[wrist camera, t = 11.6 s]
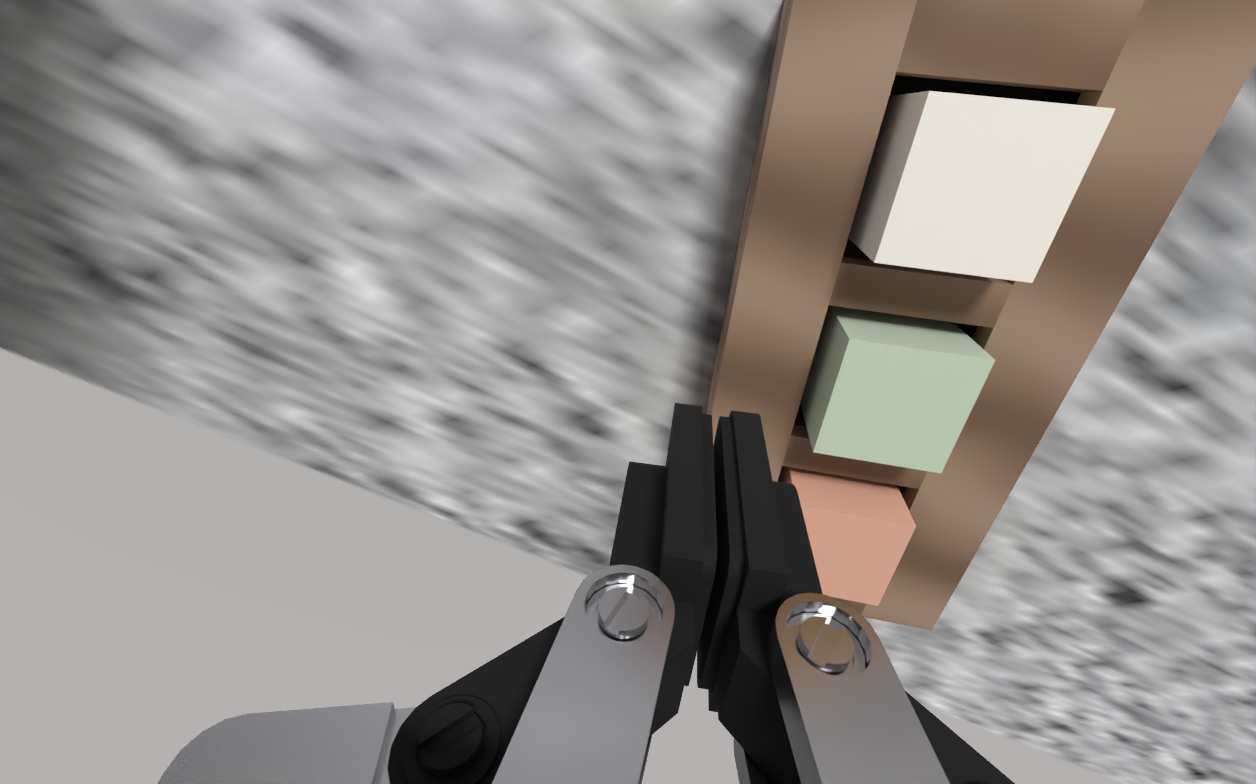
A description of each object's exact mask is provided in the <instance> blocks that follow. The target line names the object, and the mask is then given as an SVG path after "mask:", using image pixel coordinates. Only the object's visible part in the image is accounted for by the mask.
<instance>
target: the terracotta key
mask: <svg viewBox="0 0 1256 784" xmlns="http://www.w3.org/2000/svg"><path fill="white" fill-rule="evenodd" d="M777 482H783V483H790V484H793V485H795V487H796V489H797V492H798V496H799V500H800V504H801V508H802V512H803V516H804V520H805V524H806V528H807V532H808V536H809V540H810V545H811V549H812V553H813V557H814V561H815V565H816V569H817V573H818V577H819V581H820V585H821V589H822V593H823V595H828V596H830V597H834V598H839V599H845V600H850V601H855V602H860V603H865V604H871V605H876V606H878V605H879V603H880V601H881V599H882V597H883V595H884V593H885V591H886V589H887V586H888V584H889V582H890V580H891V578H892V576H893V574H894V572H895V570H896V568H897V566H898V563H899V561H900V559H901V557H902V555H903V553H904V551H905V549H906V547H907V545H908V543H909V540H910V538H911V536H912V534H913V532H914V530H915V528H916V524H915V522H914V520H913V518H912V516H911V514H910V512H909V510H908V507H907V505H906V503H905V501H904V499H903V497H902V495H901V493H900V491H899V488H898V486H897V485H892V484H886V483H880V482H875V481H869V480H863V479H857V478H851V477H845V476H839V475H833V474H827V473H821V472H815V471H810V470H804V469H798V468H792V467H786V466H782V467H781V471H780V474H779V478H778V481H777Z"/></svg>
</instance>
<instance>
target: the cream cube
mask: <svg viewBox="0 0 1256 784" xmlns="http://www.w3.org/2000/svg"><path fill="white" fill-rule="evenodd" d="M1115 109H1116V108H1105V107H1095V106H1084V105H1073V104H1063V103H1052V102H1042V101H1031V100H1021V99H1010V98H1000V97H989V96H979V95H968V94H958V93H947V92H937V91H924V92H917V93H909V94H902V95H895V96H889V99H888V103H887V106H886V109H885V113H884V116H883V120H882V123H881V127H880V130H879V134H878V137H877V140H876V144H875V147H874V151H873V154H872V158H871V161H870V164H869V168H868V171H867V175H866V178H865V182H864V185H863V189H862V192H861V195H860V199H859V202H858V206H857V209H856V213H855V216H854V220H853V223H852V226H851V230H850V233H849V237H848V238H849V239H850V240H851V241H852V242H853V243H854V244H855V245H856V246H857V247H858V248H859V249H860V250H861V251H862V252H864V253H865V254H866V255H867V256H868V257H869V258H870V259H871V260H872V261H873V262H874V263H880V264H888V265H896V266H904V267H911V268H919V269H927V270H935V271H943V272H950V273H958V274H966V275H974V276H982V277H989V278H997V279H1005V280H1013V281H1021V282H1028V283H1033V281H1034V279H1035V276H1036V274H1037V272H1038V270H1039V268H1040V266H1041V264H1042V262H1043V260H1044V258H1045V256H1046V253H1047V251H1048V249H1049V247H1050V245H1051V243H1052V241H1053V239H1054V237H1055V235H1056V233H1057V231H1058V228H1059V226H1060V224H1061V222H1062V220H1063V218H1064V216H1065V214H1066V212H1067V210H1068V208H1069V205H1070V203H1071V201H1072V199H1073V197H1074V195H1075V193H1076V191H1077V189H1078V187H1079V185H1080V182H1081V180H1082V178H1083V176H1084V174H1085V172H1086V170H1087V168H1088V166H1089V164H1090V162H1091V159H1092V157H1093V155H1094V153H1095V151H1096V149H1097V147H1098V145H1099V143H1100V141H1101V139H1102V136H1103V134H1104V132H1105V130H1106V128H1107V126H1108V124H1109V122H1110V120H1111V118H1112V116H1113V113H1114V111H1115Z"/></svg>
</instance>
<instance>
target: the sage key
mask: <svg viewBox="0 0 1256 784" xmlns="http://www.w3.org/2000/svg"><path fill="white" fill-rule="evenodd" d="M994 362H995V359H994V358H993V357H992V356H990V355H989V354H988V353H987V352H986V351H985V350H984V349H983V348H981V347H980V346H979V345H978V344H977V343H976V342H975V341H974V340H972V339H971V338H970V337H969V336H968V335H967V334H966V333H965V332H963V331H962V330H961V329H960V328H959V327H958V326H957V325H956V324H954V323H953V322H947V321H939V320H932V319H925V318H918V317H910V316H903V315H896V314H889V313H881V312H874V311H867V310H859V309H852V308H845V307H838V306H830V305H829V306H828V309H827V312H826V316H825V319H824V323H823V326H822V330H821V333H820V337H819V340H818V343H817V347H816V350H815V354H814V357H813V361H812V364H811V368H810V371H809V374H808V378H807V381H806V385H805V388H804V392H803V395H802V398H801V402H800V405H801V409H802V412H803V416H804V420H805V424H806V427H807V431H808V435H809V439H810V442H811V446H812V450H813V452H814V453H820V454H826V455H832V456H838V457H844V458H850V459H856V460H863V461H869V462H875V463H881V464H887V465H893V466H899V467H905V468H911V469H917V470H923V471H929V472H935V473H942V471H943V469H944V467H945V465H946V462H947V460H948V458H949V456H950V454H951V452H952V450H953V448H954V446H955V444H956V442H957V439H958V437H959V435H960V433H961V431H962V429H963V427H964V425H965V423H966V421H967V419H968V416H969V414H970V412H971V410H972V408H973V406H974V404H975V402H976V400H977V398H978V396H979V393H980V391H981V389H982V387H983V385H984V383H985V381H986V379H987V377H988V375H989V373H990V370H991V368H992V366H993V364H994Z"/></svg>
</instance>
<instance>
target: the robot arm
mask: <svg viewBox="0 0 1256 784" xmlns="http://www.w3.org/2000/svg"><path fill="white" fill-rule="evenodd" d="M696 653H697V684H698V688H703V689H709V711H714V712H718V716H719V717H718V718H719V721H720V722H721V723H722V724H723V726H724V727H725V728H726V729H727V730H728V731H729V732H730V734H731V735H732V736H733V737H734V756H735V762H736V767H737V771H738V778H739V783H740V784H1015V783H1013V782H1012V781H1011V780H1010V779H1009V778H1007V777H1006V776H1005V775H1004V774H1002V773H1001V772H1000V771H999V770H998V769H997V768H996V767H994V766H993V765H992V764H991V763H990V762H989V761H987V760H986V759H985V758H984V757H983V756H981V755H980V754H979V753H977V751H976V750H974V749H973V748H972V747H971V746H970V745H968V744H967V743H966V742H965V741H964V740H962V739H961V738H960V737H959V736H958V735H957V734H955V733H954V732H953V731H952V730H951V729H950V728H948V727H947V726H946V725H945V724H944V723H942V722H941V721H940V720H939V719H938V718H937V717H935V716H934V715H933V714H932V713H931V712H929V711H928V710H927V709H926V708H925V707H924V706H922V705H921V704H920V703H919V702H918V701H916V700H915V699H914V698H913V697H912V696H911V695H909V694H908V693H907V692H906V691H905V690H904V688H903V686H902V684H901V682H900V680H899V678H898V676H897V674H896V672H895V670H894V668H893V666H892V664H891V662H890V660H889V657H888V655H887V653H886V651H885V649H884V647H883V645H882V643H881V641H880V639H879V637H878V636H877V634H876V633H875V631H874V629H873V628H872V626H871V625H870V623H869V622H868V621H867V620H866V619H865V618H864V617H863V616H862V615H861V614H859V613H858V612H857V611H856V610H855V609H853V608H852V607H850V606H849V605H847V604H846V603H844V602H842V601H840V600H838V599H835V598H833V597H830V596H828V595H823V593H822V589H821V585H820V581H819V577H818V573H817V569H816V565H815V561H814V557H813V553H812V549H811V545H810V540H809V536H808V532H807V528H806V524H805V520H804V516H803V512H802V508H801V504H800V500H799V496H798V492H797V489H796V487H795V485H793V484H790V483H783V482H776V481H773V480H772V475H771V470H770V465H769V459H768V454H767V449H766V443H765V438H764V433H763V428H762V422H761V417H760V414H757V413H749V412H741V411H733V410H731V412H730V415H729V417H724V416H720V417H719V420H718V425H717V430H716V435H715V440H714V445H713V427H712V415H709V414H702V406H694V405H687V404H679V403H675V407H674V413H673V420H672V427H671V434H670V441H669V447H668V454H667V461H666V466H658V465H651V464H644V463H636V462H629V466H628V471H627V476H626V481H625V487H624V492H623V497H622V502H621V508H620V513H619V518H618V523H617V529H616V534H615V539H614V544H613V550H612V555H611V560H610V565H609V566H607V567H604V568H602V569H599V570H597V571H595V572H593V573H592V574H591V575H589V576H588V577H587V578H586V579H584V580H583V582H582V583H581V585H580V587H579V588H578V589H577V591H576V593H575V595H574V598H573V600H572V602H571V605H570V607H569V609H568V611H567V614H566V616H565V617H564V618H562V619H560V620H559V621H557V622H555V623H553V624H552V625H550V626H548V627H547V628H545V629H543V630H542V631H540V632H538V633H537V634H535V635H533V636H532V637H530V638H528V639H526V640H525V641H524V642H522V643H520V644H518V645H516V646H515V647H513V648H511V649H510V650H508V651H506V652H505V653H503V654H501V655H500V656H498V657H496V658H495V659H493V660H491V661H490V662H488V663H486V664H484V665H483V666H481V667H479V668H478V669H476V670H474V671H473V672H471V673H469V674H467V675H466V676H464V677H462V678H461V679H459V680H457V681H456V682H454V683H452V684H451V685H449V686H447V687H446V688H444V689H442V690H441V691H439V692H437V693H436V694H434V695H432V696H431V697H429V698H428V699H427V700H425V701H424V702H423V703H422V704H420V705H419V706H418V707H416V708H406V709H394V705H393V702H390V703H378V704H365V705H353V706H340V707H328V708H315V709H303V710H290V711H277V712H266V713H252V714H245V715H241V716H237V717H233V718H229V719H225V720H224V721H221V722H219V723H218V724H216V725H214V726H212V727H210V728H208V729H206V730H205V731H203V732H201V733H200V734H199V735H198V736H197V737H196V738H194V739H193V740H192V741H191V742H190V743H189V744H187V745H186V746H185V747H184V748H183V749H182V750H181V751H180V752H179V753H178V755H177V756H176V757H175V759H174V760H173V761H172V763H171V764H170V765H169V767H168V768H167V769H166V771H165V772H164V774H163V775H162V777H161V779H160V781H159V782H158V784H642V779H643V775H644V770H645V766H646V761H647V756H648V752H649V747H650V743H651V738H652V734H653V733H654V732H655V731H657V730H658V729H659V728H660V727H661V726H663V725H664V724H665V723H666V722H667V721H669V720H670V719H671V718H672V717H673V716H675V715H676V714H677V713H678V710H679V705H680V701H681V697H682V692H683V688H684V685H685V686H688V685H689V682H690V678H691V673H692V669H693V665H694V661H695V657H696Z"/></svg>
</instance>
